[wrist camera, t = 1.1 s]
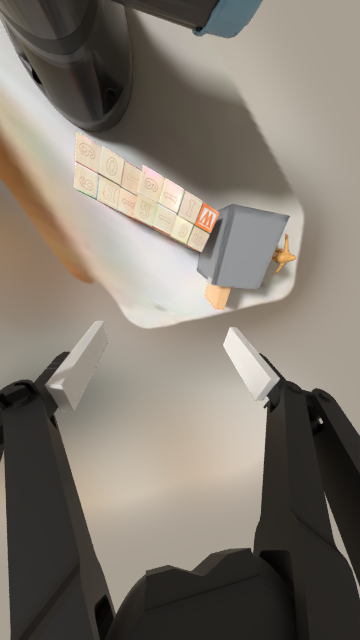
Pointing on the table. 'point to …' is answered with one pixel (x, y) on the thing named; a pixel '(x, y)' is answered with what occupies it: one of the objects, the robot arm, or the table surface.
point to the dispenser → (241, 246)
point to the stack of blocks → (142, 194)
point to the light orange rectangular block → (217, 296)
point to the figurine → (282, 255)
